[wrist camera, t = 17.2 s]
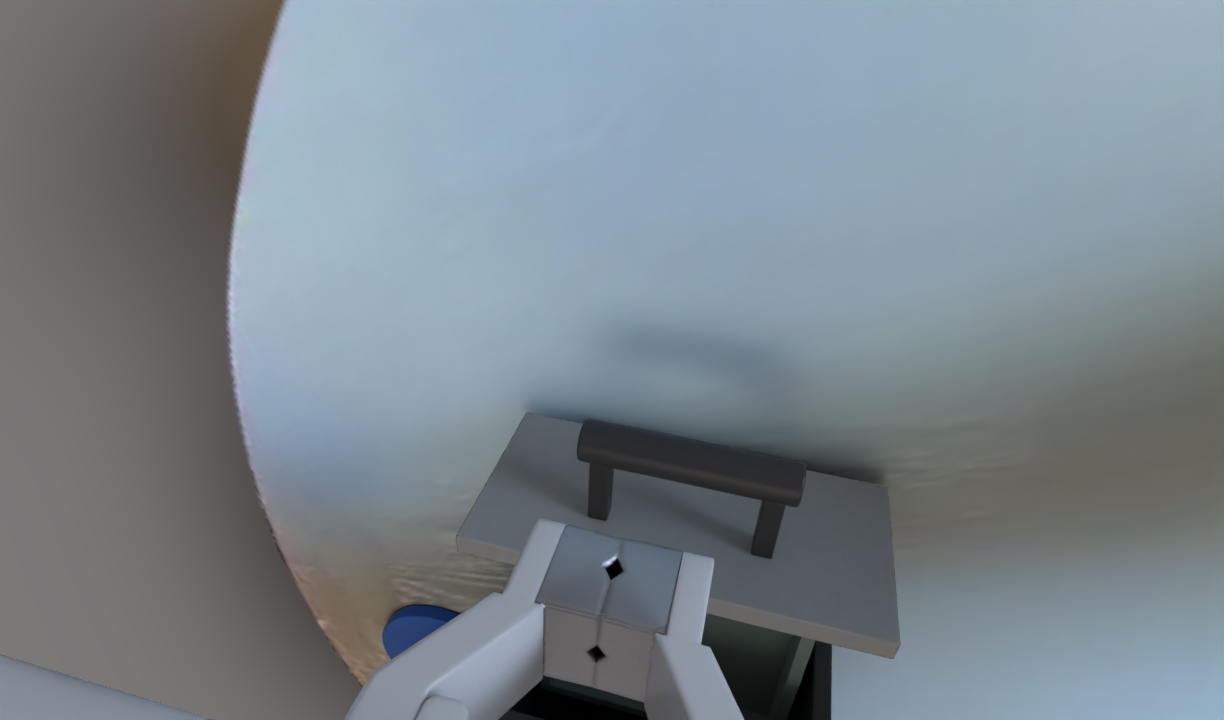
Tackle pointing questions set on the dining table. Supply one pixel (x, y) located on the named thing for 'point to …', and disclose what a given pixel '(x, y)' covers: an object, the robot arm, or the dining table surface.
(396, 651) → the lid
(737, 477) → the grey drawer
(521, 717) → the dark grey drawer cabinet
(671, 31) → the dining table surface
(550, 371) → the dining table surface
